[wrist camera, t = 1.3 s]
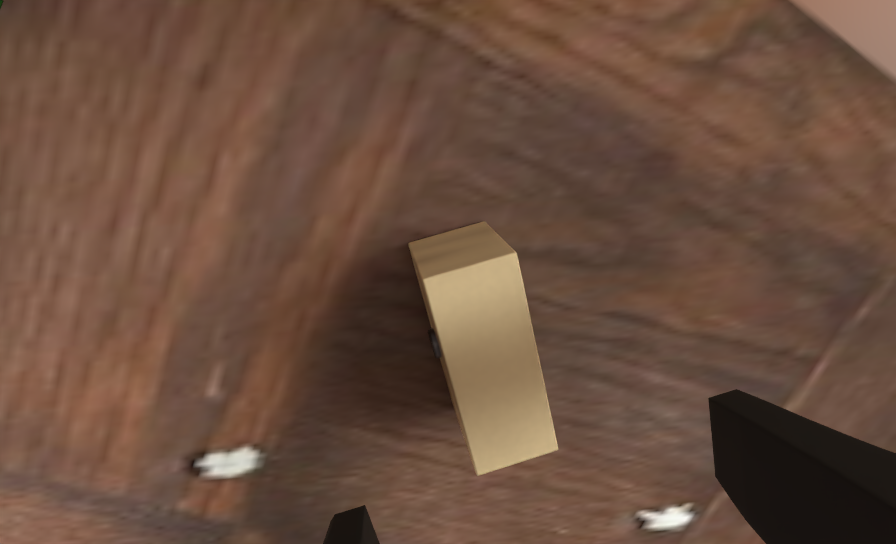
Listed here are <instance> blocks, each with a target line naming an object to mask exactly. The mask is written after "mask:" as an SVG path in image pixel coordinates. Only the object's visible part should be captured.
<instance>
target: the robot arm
mask: <svg viewBox="0 0 896 544" xmlns="http://www.w3.org/2000/svg"><path fill="white" fill-rule="evenodd" d="M709 409H710V420H711V431H712V442H713V454H714V465H715V476H716V478H717V479H718V481H719V482H720V484H721V485H722V487H723V488H724V490H725V491H726V493H727V494H728V496H729V497H730V499H731V500H732V502H733V503H734V504H735V506H736V507H737V509H738V510H739V511H740V513H741V514H742V515H743V517H744V518H745V520H746V521H747V522H748V523H749V525H750V526H751V527H752V528H753V529H754V530H755V532H756V533H757V534H758V535H759V536H760V537H761V538H762V539H763V541H764V542H765V543H766V544H896V453H893V452H890V451H888V450H885V449H882V448H879V447H877V446H874V445H871V444H869V443H866V442H864V441H861V440H858V439H856V438H853V437H851V436H848V435H846V434H843V433H841V432H838V431H836V430H833V429H831V428H828V427H826V426H824V425H821V424H819V423H816V422H814V421H812V420H809V419H807V418H804V417H802V416H800V415H797V414H795V413H793V412H790V411H788V410H786V409H783V408H781V407H779V406H776V405H774V404H772V403H769V402H767V401H764V400H762V399H760V398H757V397H755V396H752V395H750V394H747V393H745V392H742V391H740V390H737V389H736V390H733V391H730V392H726V393H723V394H720V395H717V396H714V397H710V398H709ZM323 544H380V543H379V541H378V538H377V535H376V533H375V530H374V528H373V525H372V522H371V520H370V517H369V514H368V512H367V509H366V507H365V505H364V506H361V507H358V508H355V509H351V510H348V511H345V512H342V513H338V514H335V515H334V517H333V518H332V520H331V522H330V525H329V528H328V531H327V534H326V537H325V540H324V543H323Z"/></svg>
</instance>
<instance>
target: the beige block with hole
mask: <svg viewBox="0 0 896 544" xmlns="http://www.w3.org/2000/svg"><path fill="white" fill-rule="evenodd" d="M408 246H409V250H410V253H411V257H412V260H413V264H414V267H415V271H416V275H417V278H418V282H419V285H420V289H421V292H422V296H423V300H424V303H425V307H426V310H427V314H428V317H429V321H430V325H431V329H429V330H428V334H429V338H430V342H431V345H432V348H433V352H434V355H435V357H436V358H440V360H441V364H442V367H443V371H444V374H445V378H446V382H447V385H448V389H449V392H450V396H451V399H452V403H453V407H454V410H455V413H456V416H457V419H458V422H459V425H460V428H461V431H462V434H463V437H464V440H465V443H466V446H467V449H468V452H469V455H470V457H471V460H472V463H473V466H474V469H475V472H476V475H477V476H479V475H482V474H485V473H488V472H491V471H494V470H498V469H501V468H504V467H507V466H510V465H513V464H516V463H519V462H522V461H525V460H529V459H532V458H535V457H538V456H541V455H544V454H547V453H550V452H553V451H556V450H558V445H557V440H556V436H555V431H554V426H553V421H552V417H551V412H550V407H549V403H548V398H547V393H546V388H545V384H544V379H543V374H542V370H541V365H540V360H539V356H538V351H537V346H536V341H535V337H534V332H533V327H532V323H531V318H530V313H529V308H528V304H527V299H526V294H525V290H524V285H523V280H522V275H521V271H520V266H519V261H518V257H517V253H516V252H515V251H514V250H513V249H512V248H511V247H510V246H509V245H508V244H507V243H506V242H505V241H504V240H503V239H502V238H501V237H500V236H499V235H498V234H497V233H496V232H495V231H494V230H493V229H492V228H491V227H490V226H489V225H488V224H487V223H486V222H480V223H476V224H473V225H469V226H466V227H462V228H459V229H455V230H452V231H448V232H445V233H441V234H438V235H434V236H431V237H427V238H424V239H420V240H417V241H413V242H410V243H408Z"/></svg>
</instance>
